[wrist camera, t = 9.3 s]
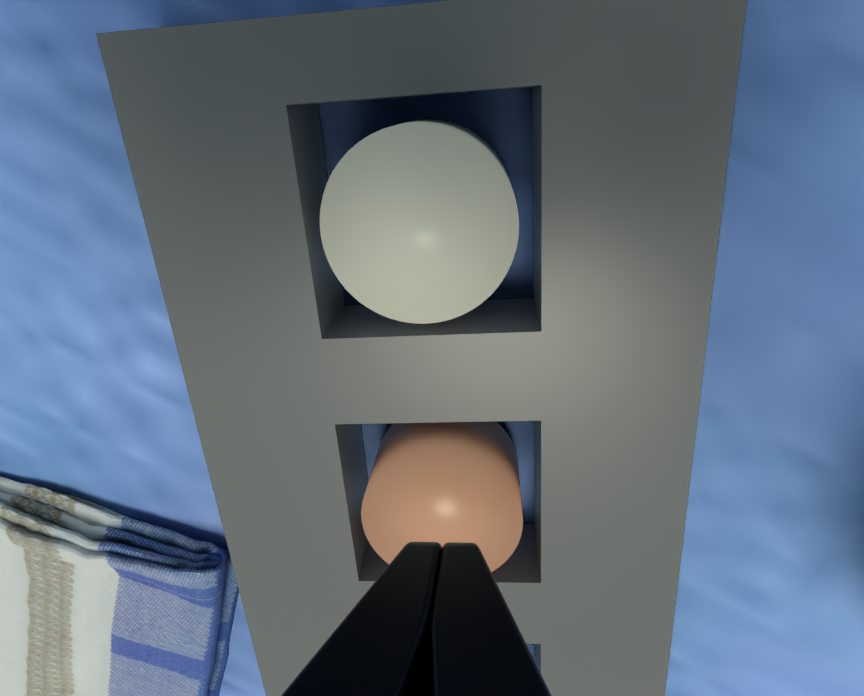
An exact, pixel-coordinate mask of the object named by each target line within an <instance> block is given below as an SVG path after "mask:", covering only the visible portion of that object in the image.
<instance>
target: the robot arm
mask: <svg viewBox="0 0 864 696" xmlns="http://www.w3.org/2000/svg"><path fill="white" fill-rule="evenodd" d="M281 696H552V695H551V693H550V691H549V689H548V687H547V685H546V683H545V681H544V679H543V677H542V675H541V673H540V671H539V669H538V667H537V665H536V663H535V661H534V659H533V657H532V654H531V652H530V650H529V648H528V646H527V644H526V642H525V640H524V638H523V636H522V634H521V632H520V630H519V628H518V626H517V624H516V622H515V620H514V618H513V616H512V613H511V611H510V609H509V607H508V605H507V603H506V601H505V599H504V597H503V595H502V593H501V591H500V589H499V587H498V585H497V583H496V581H495V579H494V577H493V575H492V573H491V570H490V568H489V566H488V564H487V562H486V560H485V558H484V556H483V554H482V552H481V550H480V548H479V547H478V545H477V544H475V543H461V542H448V543H446V544H444V546H443V547H442V546H441V544H440V543H438V542H409V543H407V544H406V545H405V546H404V547H403V548H402V550H401V551H400V552H399V553H398V555H397V556H396V557H395V558H394V559H393V561H392V562H391V563H390V564H389V565H388V567H387V568H386V569H385V570H384V572H383V573H382V574H381V575H380V576H379V578H378V579H377V580H376V581H375V582H374V584H373V585H372V586H371V587H370V588H369V590H368V591H367V592H366V593H365V595H364V596H363V597H362V598H361V599H360V601H359V602H358V603H357V604H356V605H355V607H354V608H353V609H352V610H351V612H350V613H349V614H348V615H347V616H346V618H345V619H344V620H343V621H342V622H341V624H340V625H339V626H338V627H337V628H336V630H335V631H334V632H333V633H332V635H331V636H330V637H329V638H328V639H327V641H326V642H325V643H324V644H323V645H322V647H321V648H320V649H319V650H318V652H317V653H316V654H315V655H314V656H313V658H312V659H311V660H310V661H309V662H308V664H307V665H306V666H305V667H304V668H303V670H302V671H301V672H300V673H299V675H298V676H297V677H296V678H295V679H294V681H293V682H292V683H291V684H290V685H289V687H288V688H287V689H286V690H285V691H284V693H283V694H282V695H281Z"/></svg>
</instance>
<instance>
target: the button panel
mask: <svg viewBox="0 0 864 696" xmlns="http://www.w3.org/2000/svg"><path fill="white" fill-rule="evenodd" d="M746 4H747V0H447V1H436V2H425V3H415V4H404V5H394V6H383V7H372V8H362V9H351V10H341V11H330V12H319V13H309V14H298V15H288V16H277V17H267V18H256V19H245V20H235V21H224V22H214V23H203V24H192V25H182V26H171V27H161V28H150V29H139V30H129V31H118V32H108V33H97V34H96V35H97V39H98V43H99V47H100V50H101V54H102V58H103V62H104V66H105V70H106V74H107V78H108V82H109V86H110V89H111V93H112V97H113V101H114V105H115V109H116V113H117V117H118V121H119V124H120V128H121V132H122V136H123V140H124V144H125V148H126V152H127V156H128V160H129V163H130V167H131V171H132V175H133V179H134V183H135V187H136V191H137V195H138V198H139V202H140V206H141V210H142V214H143V218H144V222H145V226H146V230H147V234H148V237H149V241H150V245H151V249H152V253H153V257H154V261H155V265H156V269H157V272H158V276H159V280H160V284H161V288H162V292H163V296H164V300H165V304H166V308H167V311H168V315H169V319H170V323H171V327H172V331H173V335H174V339H175V343H176V347H177V350H178V354H179V358H180V362H181V366H182V370H183V374H184V378H185V382H186V385H187V389H188V393H189V397H190V401H191V405H192V409H193V413H194V417H195V421H196V424H197V428H198V432H199V436H200V440H201V444H202V448H203V452H204V456H205V459H206V463H207V467H208V471H209V475H210V479H211V483H212V487H213V491H214V495H215V498H216V502H217V506H218V510H219V514H220V518H221V522H222V526H223V530H224V533H225V537H226V541H227V545H228V549H229V553H230V557H231V561H232V565H233V569H234V572H235V576H236V580H237V584H238V588H239V592H240V596H241V600H242V604H243V607H244V611H245V615H246V619H247V623H248V627H249V631H250V635H251V639H252V643H253V646H254V650H255V654H256V658H257V662H258V666H259V670H260V674H261V678H262V682H263V685H264V689H265V693H266V696H281V695H282V694H283V693H284V691H285V690H286V689H287V688H288V687H289V685H290V684H291V683H292V682H293V681H294V679H295V678H296V677H297V676H298V675H299V673H300V672H301V671H302V670H303V668H304V667H305V666H306V665H307V664H308V662H309V661H310V660H311V659H312V658H313V656H314V655H315V654H316V653H317V652H318V650H319V649H320V648H321V647H322V645H323V644H324V643H325V642H326V641H327V639H328V638H329V637H330V636H331V635H332V633H333V632H334V631H335V630H336V628H337V627H338V626H339V625H340V624H341V622H342V621H343V620H344V619H345V618H346V616H347V615H348V614H349V613H350V612H351V610H352V609H353V608H354V607H355V605H356V604H357V603H358V602H359V601H360V599H361V598H362V597H363V596H364V595H365V593H366V592H367V591H368V590H369V588H370V587H371V586H372V585H373V584H374V582H375V581H376V580H377V579H378V578H379V576H380V575H381V574H382V573H383V572H384V570H385V569H386V568H387V567H388V565H389V564H388V563H387V562H385V561H384V560H383V559H382V558H381V557H380V556H379V555H378V554H377V553H376V552H375V550H374V549H373V548H372V546H371V545H370V543H369V541H368V539H367V537H366V535H365V532H364V530H363V525H362V519H361V509H362V502H363V498H364V495H365V492H366V488H367V485H368V474H367V467H366V459H365V452H364V445H363V437H362V430H361V424H382V423H437V422H491V421H534V523H523V529H522V534H521V538H520V540H519V543H518V545H517V547H516V549H515V550H514V552H513V554H512V555H511V556H510V557H509V558H508V560H507V561H506V562H504V563H503V564H502V565H501V566H500V567H498V568H497V569H496V570H494V571H493V572H491V573H492V575H493V577H494V579H495V581H496V583H497V585H498V587H499V589H500V591H501V593H502V595H503V597H504V599H505V601H506V603H507V605H508V607H509V609H510V611H511V613H512V616H513V618H514V620H515V622H516V624H517V626H518V628H519V630H520V632H521V634H522V636H523V638H524V640H525V642H526V644H535V663H536V665H537V667H538V669H539V671H540V673H541V675H542V677H543V679H544V681H545V683H546V685H547V687H548V689H549V691H550V693H551V695H552V696H665V690H666V681H667V673H668V664H669V656H670V647H671V639H672V630H673V622H674V613H675V605H676V597H677V588H678V580H679V571H680V563H681V554H682V546H683V537H684V529H685V520H686V512H687V503H688V495H689V487H690V478H691V470H692V461H693V453H694V444H695V436H696V427H697V419H698V410H699V402H700V394H701V385H702V377H703V368H704V360H705V351H706V343H707V334H708V326H709V317H710V309H711V300H712V292H713V284H714V275H715V267H716V258H717V250H718V241H719V233H720V224H721V216H722V207H723V199H724V190H725V182H726V174H727V165H728V157H729V148H730V140H731V131H732V123H733V114H734V106H735V97H736V89H737V81H738V72H739V64H740V55H741V47H742V38H743V30H744V21H745V13H746ZM521 88H533V298H516V299H491V300H485V301H484V302H483V303H482V304H480V305H479V306H477V307H476V308H474V309H473V310H471V311H469V312H467V313H465V314H463V315H461V316H459V317H456V318H453V319H451V320H447V321H442V322H438V323H428V324H415V323H407V322H401V321H397V320H393V319H390V318H387V317H385V316H382V315H380V314H378V313H376V312H374V311H372V310H371V309H369V308H367V307H366V306H364V305H345V302H344V295H343V287H342V284H341V283H340V281H339V280H338V278H337V277H336V275H335V274H334V272H333V270H332V268H331V266H330V264H329V262H328V260H327V257H326V254H325V252H324V249H323V244H322V240H321V234H320V207H321V202H322V196H323V193H324V190H325V187H326V184H327V182H328V175H327V168H326V160H325V153H324V145H323V138H322V130H321V123H320V115H319V108H318V104H327V103H340V102H353V101H366V100H379V99H392V98H405V97H418V96H431V95H443V94H456V93H469V92H482V91H495V90H508V89H521Z"/></svg>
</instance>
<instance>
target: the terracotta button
mask: <svg viewBox="0 0 864 696" xmlns="http://www.w3.org/2000/svg"><path fill="white" fill-rule="evenodd" d="M361 519H362V525H363V530H364V532H365V535H366V537H367V539H368V541H369V543H370V545H371V546H372V548H373V549H374V550H375V552H376V553H377V554H378V555H379V556H380V557H381V558H382V559H383V560H384V561H385V562H387V563H388V564H390V563H391V562H392V561H393V559H394V558H395V557H396V556H397V555H398V553H399V552H400V551H401V550H402V548H403V547H404V546H405V545H406V544H407V543H409V542H438V543H440V544H441V546H442V547H443V546H444V544H446V543H448V542H461V543H475V544H477V545H478V547H479V548H480V550H481V552H482V554H483V556H484V558H485V560H486V562H487V564H488V566H489V568H490V570H491V572H493V571H494V570H496V569H497V568H498V567H500V566H501V565H502V564H503V563H504V562H506V561H507V560H508V558H509V557H510V556H511V555H512V554H513V552H514V550H515V549H516V547H517V545H518V543H519V540H520V538H521V534H522V529H523V515H522V503H521V492H520V481H519V469H518V458H517V453H516V450H515V447H514V445H513V442H512V440H511V439H510V437H509V435H508V434H507V433H506V431H505V430H504V429H503V428H502V427H501V426H500V425H499V424H498V423H497V422H496V421H491V422H437V423H393V424H392V425H391V426H390V427H389V429H388V430H387V431H386V433H385V435H384V436H383V438H382V441H381V443H380V446H379V449H378V453H377V456H376V459H375V462H374V466H373V469H372V472H371V475H370V479H369V482H368V485H367V488H366V492H365V495H364V498H363V502H362V509H361Z"/></svg>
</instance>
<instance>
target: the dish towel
mask: <svg viewBox="0 0 864 696" xmlns="http://www.w3.org/2000/svg"><path fill="white" fill-rule="evenodd" d="M238 593H239V588H238V584H237V580H236V576H235V572H234V569H233V565H232V561H231V557H230V553H229V551H228V550H225V549H223V548H220V547H217V546H216V545H214V544H213V543H210V542H203V541H200V540H197V539H194V538H191V537H188V536H185V535H182V534H180V533H178V532H175V531H172V530H169V529H166V528H163V527H159V526H155V525H152V524H149V523H145V522H141V521H138V520H135V519H132V518H129V517H126V516H124V515H121V514H119V513H116V512H114V511H112V510H110V509H107V508H105V507H103V506H101V505H98V504H95V503H93V502H90V501H87V500H84V499H81V498H78V497H75V496H71V495H66V494H62V493H58V492H54V491H51V490H49V489H47V488H43V487H38V486H35V485H32V484H27V483H21V482H17V481H14V480H10V479H7V478H5V477H1V476H0V696H219V692H220V687H221V682H222V679H223V675H224V671H225V667H226V663H227V659H228V655H229V640H230V633H231V628H232V624H233V618H234V612H235V607H236V602H237V597H238Z"/></svg>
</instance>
